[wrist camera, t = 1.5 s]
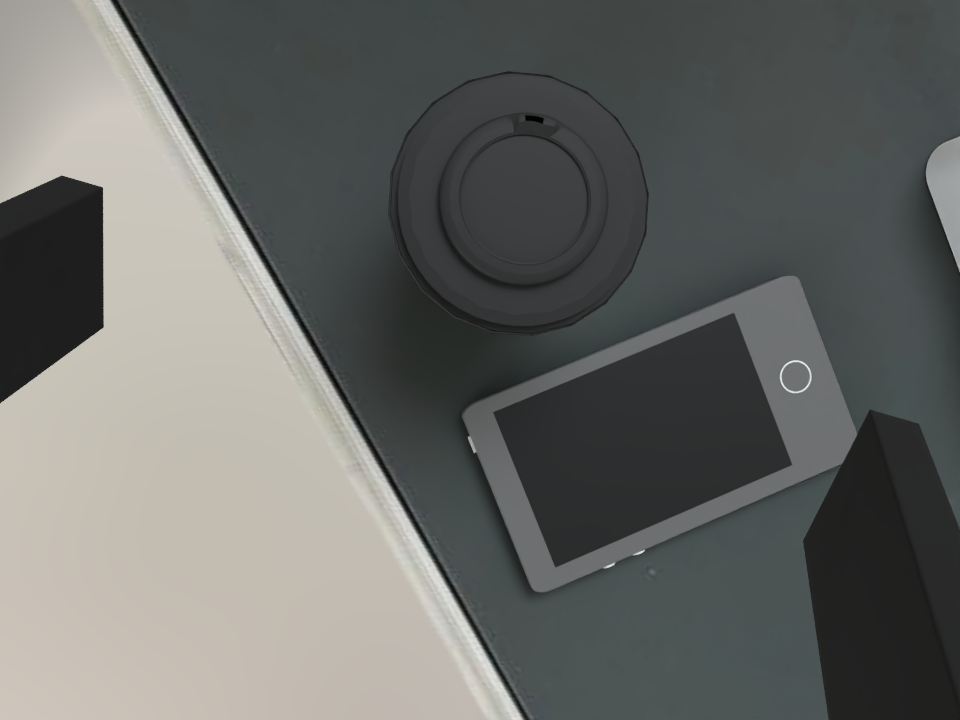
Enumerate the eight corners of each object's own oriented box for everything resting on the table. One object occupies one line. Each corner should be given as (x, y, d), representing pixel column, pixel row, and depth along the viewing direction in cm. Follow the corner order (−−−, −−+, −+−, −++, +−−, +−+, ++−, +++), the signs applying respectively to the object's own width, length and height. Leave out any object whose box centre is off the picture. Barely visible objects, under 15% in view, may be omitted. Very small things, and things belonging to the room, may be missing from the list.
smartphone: (531, 596, 37) (534, 600, 36) (455, 409, 36) (457, 410, 36) (857, 453, 38) (866, 456, 37) (788, 272, 38) (796, 270, 37)
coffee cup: (539, 106, 37) (596, 17, 27) (617, 290, 37) (702, 271, 27) (354, 182, 36) (342, 120, 26) (435, 369, 36) (455, 379, 26)
